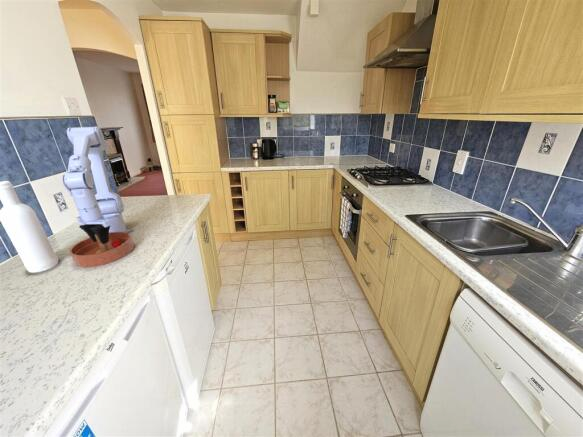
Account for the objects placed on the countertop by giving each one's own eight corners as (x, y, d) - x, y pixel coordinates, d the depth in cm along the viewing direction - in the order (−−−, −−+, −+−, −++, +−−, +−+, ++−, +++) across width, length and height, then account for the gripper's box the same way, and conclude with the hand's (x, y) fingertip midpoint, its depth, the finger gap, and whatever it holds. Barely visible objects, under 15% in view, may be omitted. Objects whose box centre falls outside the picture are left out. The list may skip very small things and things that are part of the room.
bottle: (30, 266, 84) (-15, 182, 72) (60, 258, 89) (22, 177, 77) (26, 277, 78) (-24, 187, 67) (58, 268, 83) (16, 182, 71)
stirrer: (92, 255, 89) (84, 236, 85) (107, 248, 93) (101, 229, 90) (103, 258, 87) (95, 238, 84) (118, 250, 92) (111, 231, 88)
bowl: (62, 263, 85) (56, 251, 83) (112, 239, 101) (109, 229, 99) (97, 273, 80) (92, 260, 78) (145, 246, 95) (141, 235, 93)
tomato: (111, 248, 93) (108, 241, 92) (118, 244, 96) (116, 238, 95) (116, 249, 92) (114, 242, 91) (123, 245, 95) (121, 239, 94)
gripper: (61, 208, 82) (76, 243, 87) (90, 213, 77) (104, 250, 82) (83, 202, 88) (96, 235, 93) (111, 206, 83) (123, 240, 89)
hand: (101, 241), depth 88 cm, fingers open, 4 cm apart
